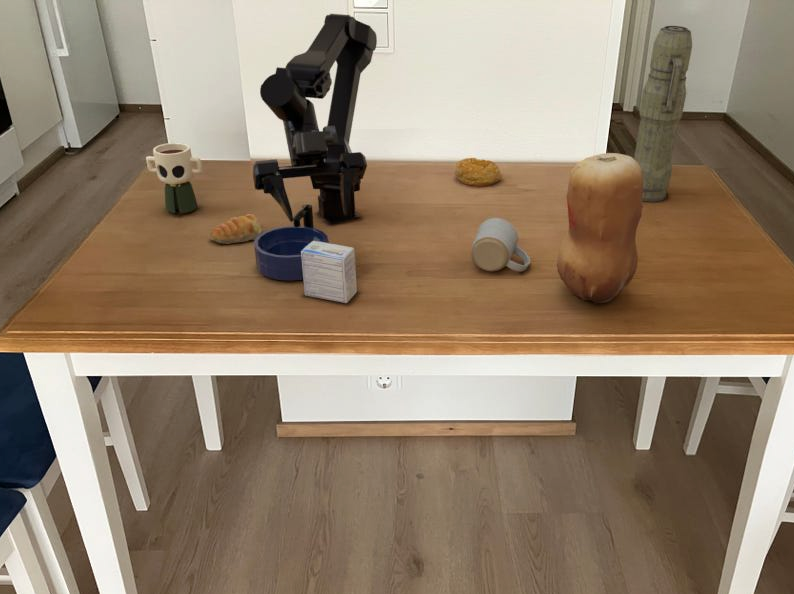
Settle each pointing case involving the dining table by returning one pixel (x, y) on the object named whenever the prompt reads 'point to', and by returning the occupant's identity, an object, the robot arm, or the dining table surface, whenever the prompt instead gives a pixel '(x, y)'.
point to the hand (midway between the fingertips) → (319, 217)
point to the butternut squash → (601, 226)
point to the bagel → (477, 172)
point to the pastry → (237, 230)
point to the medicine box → (329, 271)
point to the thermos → (662, 109)
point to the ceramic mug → (497, 246)
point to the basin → (284, 251)
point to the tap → (304, 216)
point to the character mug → (176, 175)
